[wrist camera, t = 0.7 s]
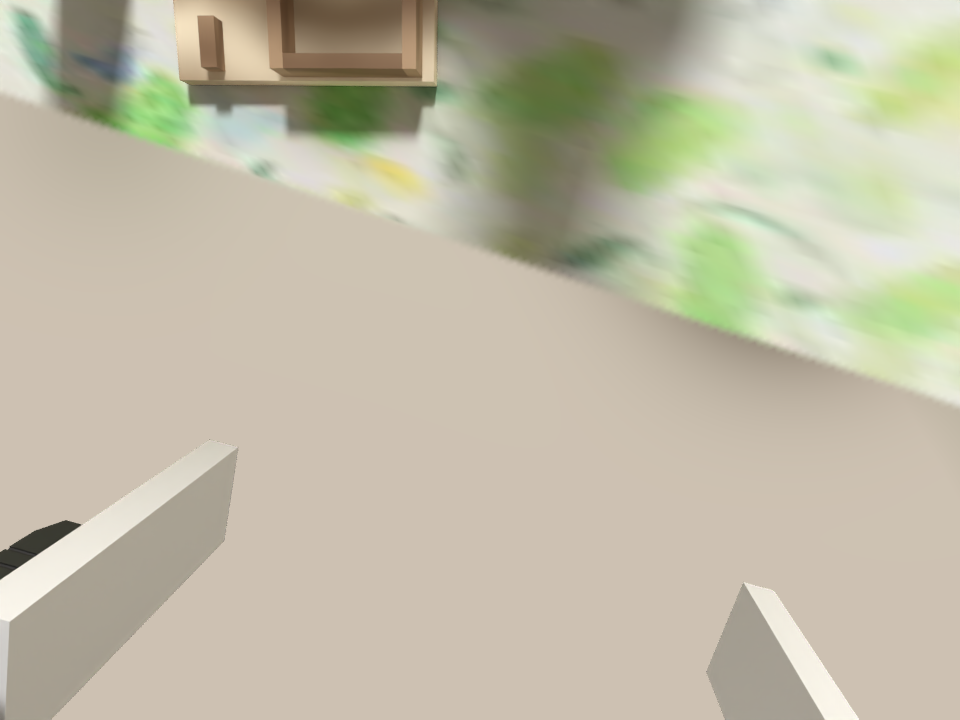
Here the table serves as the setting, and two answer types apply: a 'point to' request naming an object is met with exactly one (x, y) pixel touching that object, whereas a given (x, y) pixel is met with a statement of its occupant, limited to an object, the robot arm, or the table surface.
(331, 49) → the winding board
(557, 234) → the table surface
